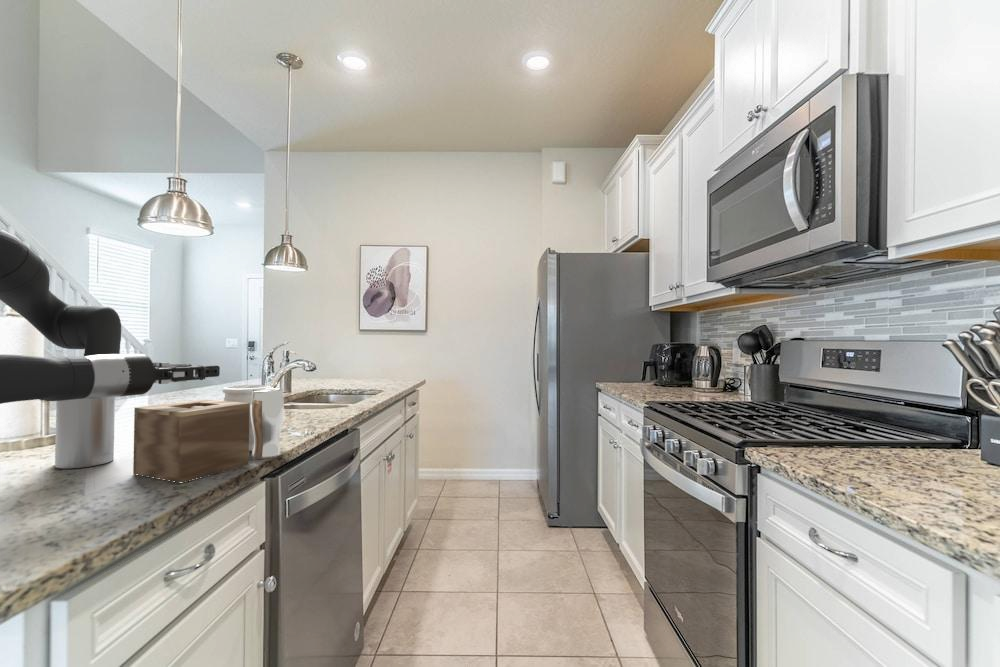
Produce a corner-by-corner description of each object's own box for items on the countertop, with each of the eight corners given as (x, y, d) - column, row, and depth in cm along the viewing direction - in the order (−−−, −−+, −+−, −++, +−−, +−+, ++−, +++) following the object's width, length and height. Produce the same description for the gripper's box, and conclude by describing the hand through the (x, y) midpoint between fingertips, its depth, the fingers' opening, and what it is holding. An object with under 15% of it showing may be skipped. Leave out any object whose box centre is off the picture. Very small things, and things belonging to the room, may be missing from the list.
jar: (234, 444, 116) (234, 384, 116) (276, 443, 117) (277, 384, 118) (212, 454, 106) (213, 389, 106) (259, 453, 107) (260, 388, 107)
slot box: (133, 474, 90) (134, 407, 90) (203, 457, 103) (204, 399, 103) (181, 483, 84) (182, 412, 85) (248, 464, 97) (249, 403, 97)
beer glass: (269, 460, 101) (270, 391, 101) (241, 458, 102) (242, 390, 102) (289, 453, 108) (290, 388, 108) (263, 451, 109) (264, 387, 109)
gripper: (140, 354, 78) (229, 352, 93) (90, 353, 83) (181, 351, 98) (139, 399, 78) (228, 390, 93) (89, 394, 83) (181, 386, 98)
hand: (204, 370), depth 96 cm, fingers open, 8 cm apart
